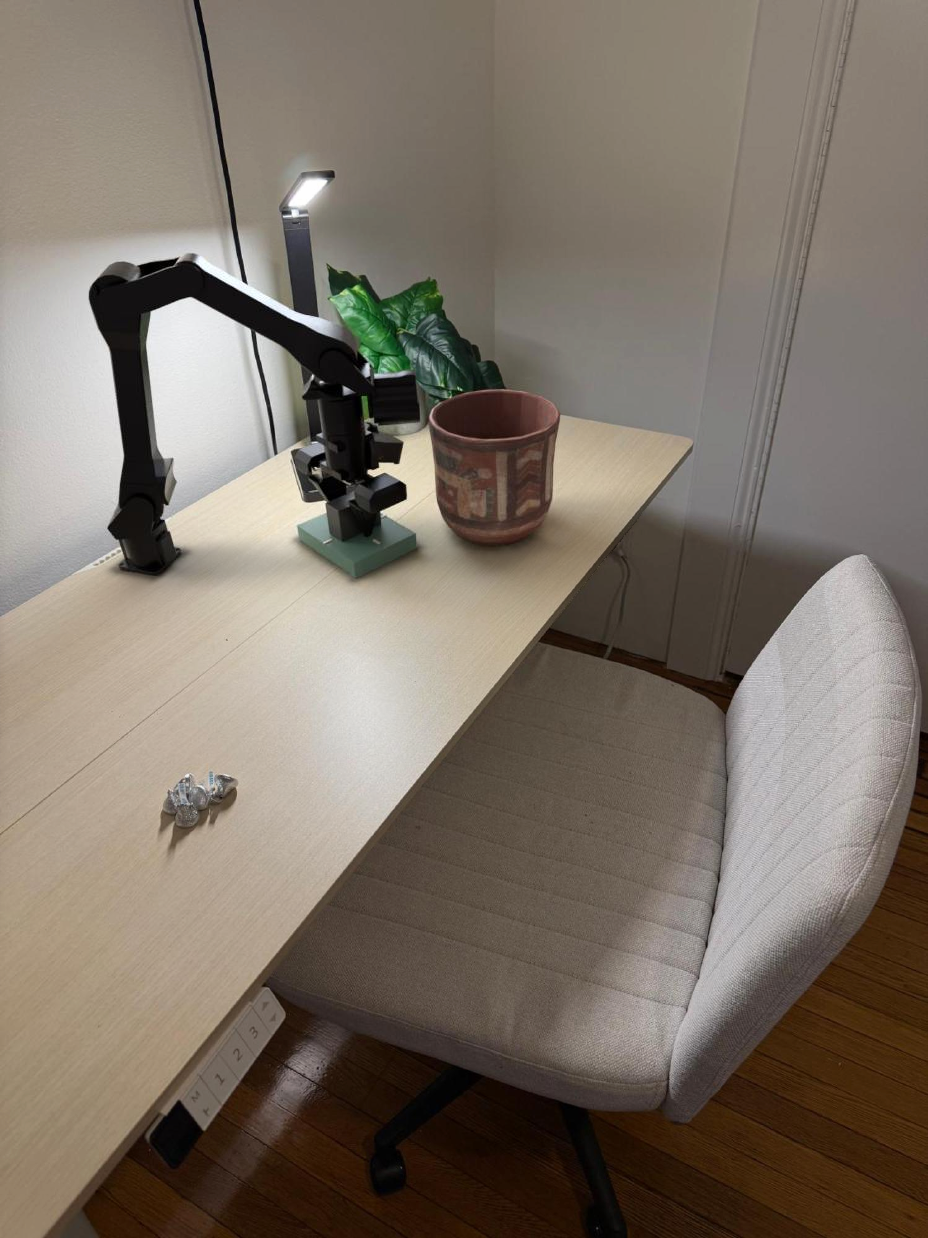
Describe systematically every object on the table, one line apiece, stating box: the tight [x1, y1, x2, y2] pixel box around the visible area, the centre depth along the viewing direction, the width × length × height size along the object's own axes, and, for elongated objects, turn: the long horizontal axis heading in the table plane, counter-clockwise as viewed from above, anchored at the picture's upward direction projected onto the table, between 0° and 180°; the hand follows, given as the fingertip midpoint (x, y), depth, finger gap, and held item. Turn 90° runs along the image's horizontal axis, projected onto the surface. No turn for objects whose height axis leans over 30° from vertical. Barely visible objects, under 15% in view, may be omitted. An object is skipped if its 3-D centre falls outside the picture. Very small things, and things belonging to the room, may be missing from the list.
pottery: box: [428, 389, 561, 547], centre depth 117 cm, size 18×18×18 cm
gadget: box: [324, 490, 381, 542], centre depth 116 cm, size 7×3×5 cm, turn 132°
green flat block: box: [296, 512, 418, 579], centre depth 119 cm, size 14×11×3 cm
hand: (355, 527), depth 118 cm, fingers open, 6 cm apart
